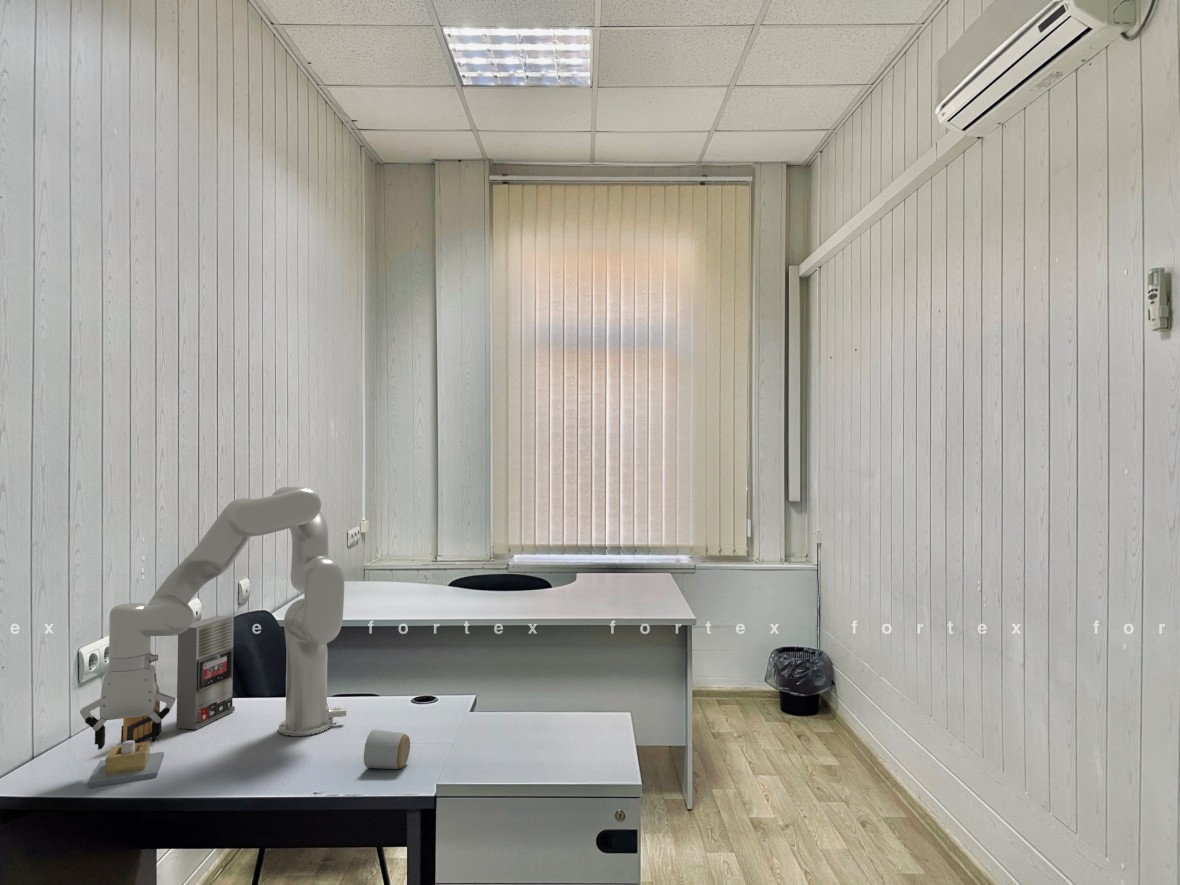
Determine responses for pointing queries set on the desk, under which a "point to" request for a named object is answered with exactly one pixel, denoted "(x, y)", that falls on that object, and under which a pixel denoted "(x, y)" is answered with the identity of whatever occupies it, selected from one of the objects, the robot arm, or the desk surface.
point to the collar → (127, 759)
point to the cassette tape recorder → (205, 672)
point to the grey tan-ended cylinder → (386, 749)
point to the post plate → (149, 772)
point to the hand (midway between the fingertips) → (128, 743)
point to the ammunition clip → (138, 727)
